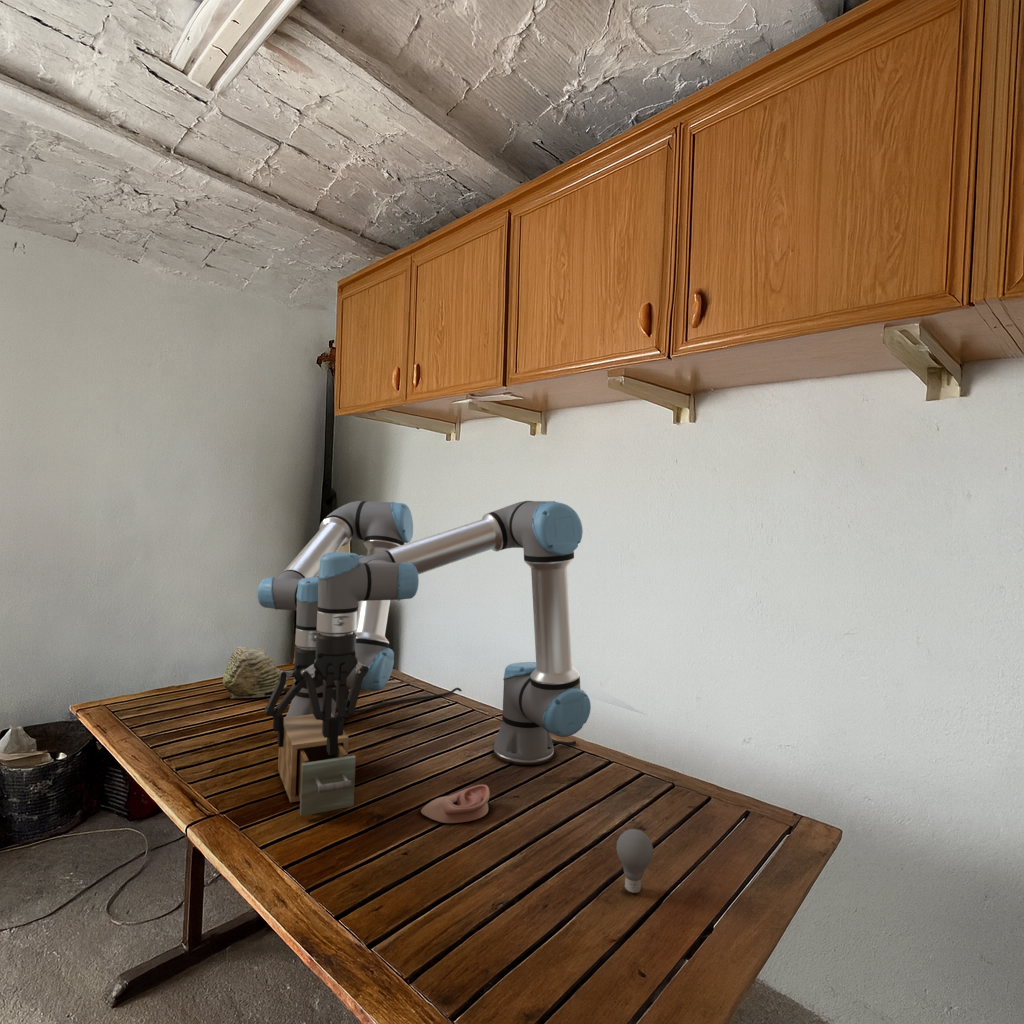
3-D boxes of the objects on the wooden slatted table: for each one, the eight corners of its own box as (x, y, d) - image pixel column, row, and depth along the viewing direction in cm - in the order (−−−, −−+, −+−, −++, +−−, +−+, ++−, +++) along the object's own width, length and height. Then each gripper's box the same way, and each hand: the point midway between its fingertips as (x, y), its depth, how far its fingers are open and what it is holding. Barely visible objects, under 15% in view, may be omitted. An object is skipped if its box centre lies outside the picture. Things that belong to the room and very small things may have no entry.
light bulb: (610, 879, 108) (613, 822, 108) (644, 879, 109) (647, 822, 109) (619, 902, 102) (622, 840, 102) (655, 901, 103) (658, 840, 103)
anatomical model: (416, 799, 126) (434, 775, 137) (415, 819, 126) (433, 793, 137) (480, 808, 123) (494, 783, 134) (479, 829, 123) (493, 802, 134)
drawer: (361, 819, 123) (363, 768, 123) (306, 830, 118) (308, 777, 118) (336, 774, 142) (337, 730, 142) (287, 782, 137) (289, 736, 137)
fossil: (218, 695, 195) (220, 647, 195) (278, 685, 208) (279, 640, 207) (228, 703, 189) (230, 653, 188) (289, 692, 201) (290, 645, 201)
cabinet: (346, 792, 136) (348, 737, 136) (290, 802, 131) (292, 744, 130) (329, 762, 151) (330, 711, 151) (277, 769, 146) (279, 717, 145)
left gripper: (257, 654, 135) (254, 755, 135) (369, 646, 146) (365, 739, 146) (253, 646, 141) (250, 742, 142) (361, 639, 153) (357, 728, 153)
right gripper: (305, 638, 117) (300, 765, 117) (374, 634, 123) (370, 754, 123) (298, 630, 123) (293, 750, 124) (364, 626, 130) (360, 740, 130)
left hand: (309, 741), depth 144 cm, fingers open, 12 cm apart
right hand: (331, 752), depth 124 cm, fingers closed
